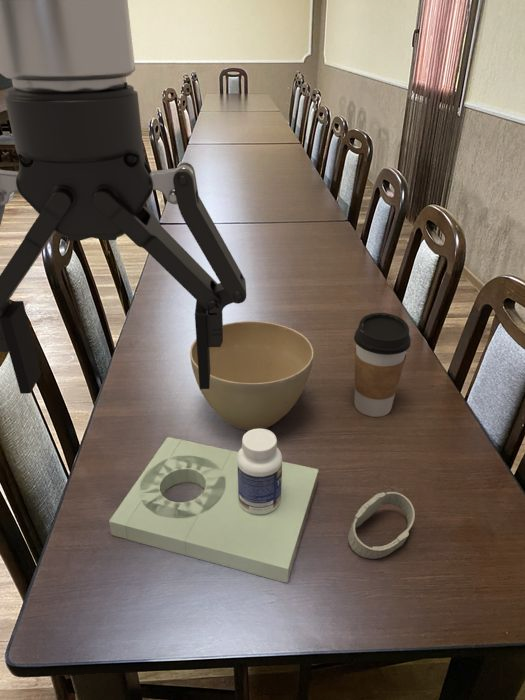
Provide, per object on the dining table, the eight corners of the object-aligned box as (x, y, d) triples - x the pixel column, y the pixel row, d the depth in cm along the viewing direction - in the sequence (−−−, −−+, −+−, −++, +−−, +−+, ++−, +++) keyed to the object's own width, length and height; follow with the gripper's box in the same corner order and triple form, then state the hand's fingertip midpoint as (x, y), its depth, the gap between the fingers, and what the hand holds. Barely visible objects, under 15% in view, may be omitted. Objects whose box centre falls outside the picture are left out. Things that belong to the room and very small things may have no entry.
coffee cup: (398, 393, 90) (411, 314, 82) (400, 425, 83) (415, 341, 75) (347, 388, 91) (356, 309, 84) (345, 418, 84) (354, 336, 77)
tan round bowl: (312, 454, 77) (317, 385, 71) (187, 451, 78) (181, 382, 71) (306, 382, 93) (310, 320, 86) (202, 381, 93) (198, 319, 87)
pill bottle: (285, 512, 65) (288, 451, 60) (241, 519, 64) (240, 458, 59) (275, 480, 69) (277, 421, 64) (234, 486, 68) (233, 427, 63)
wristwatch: (383, 502, 70) (388, 473, 67) (424, 532, 66) (431, 503, 63) (335, 539, 65) (338, 510, 62) (376, 574, 60) (382, 545, 58)
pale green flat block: (111, 535, 65) (108, 521, 64) (168, 449, 78) (167, 436, 77) (287, 583, 59) (288, 569, 58) (317, 482, 73) (318, 469, 71)
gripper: (278, 77, 35) (273, 353, 46) (-115, 76, 34) (-24, 359, 45) (289, 89, 29) (279, 406, 40) (-194, 88, 28) (-66, 415, 39)
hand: (118, 381), depth 42 cm, fingers open, 13 cm apart
